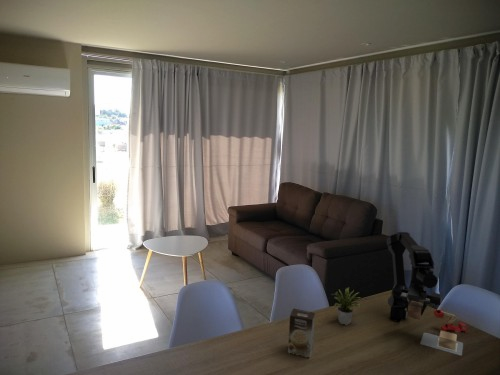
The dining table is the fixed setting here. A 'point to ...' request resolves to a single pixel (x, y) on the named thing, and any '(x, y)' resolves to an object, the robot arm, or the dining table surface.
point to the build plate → (434, 342)
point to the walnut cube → (414, 310)
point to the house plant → (346, 306)
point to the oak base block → (447, 340)
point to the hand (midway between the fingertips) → (414, 313)
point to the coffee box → (301, 332)
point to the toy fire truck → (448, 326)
